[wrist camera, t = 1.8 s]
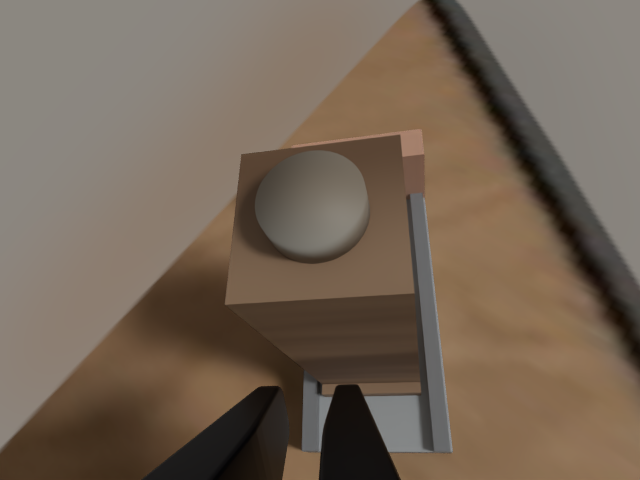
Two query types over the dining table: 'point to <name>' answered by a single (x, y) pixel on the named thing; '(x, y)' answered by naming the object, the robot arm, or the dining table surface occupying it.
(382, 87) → the dining table surface
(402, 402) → the rail
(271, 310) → the slider block with knob
